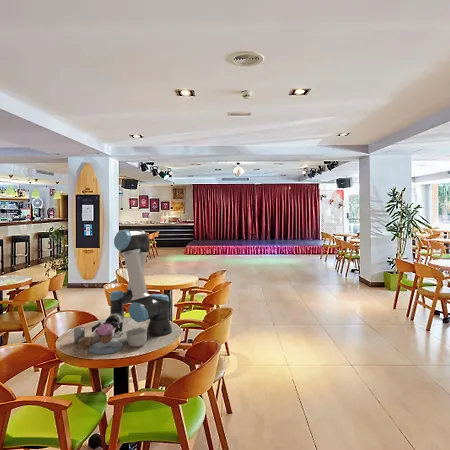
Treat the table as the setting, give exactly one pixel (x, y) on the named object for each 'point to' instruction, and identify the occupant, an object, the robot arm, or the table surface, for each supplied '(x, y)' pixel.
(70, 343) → the table surface
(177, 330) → the table surface
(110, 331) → the cupcake
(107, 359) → the table surface
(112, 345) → the plate
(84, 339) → the walnut block
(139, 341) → the teacup
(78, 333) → the metal tin
